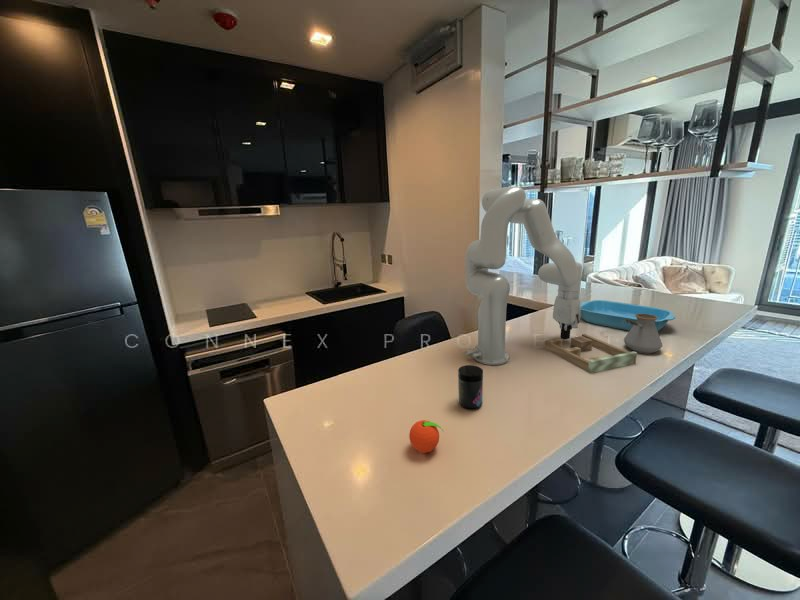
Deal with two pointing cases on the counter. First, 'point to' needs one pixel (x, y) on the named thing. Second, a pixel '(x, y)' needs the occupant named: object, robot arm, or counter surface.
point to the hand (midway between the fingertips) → (564, 338)
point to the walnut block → (581, 343)
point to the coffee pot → (643, 334)
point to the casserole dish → (621, 314)
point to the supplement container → (470, 386)
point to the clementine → (424, 436)
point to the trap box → (596, 363)
